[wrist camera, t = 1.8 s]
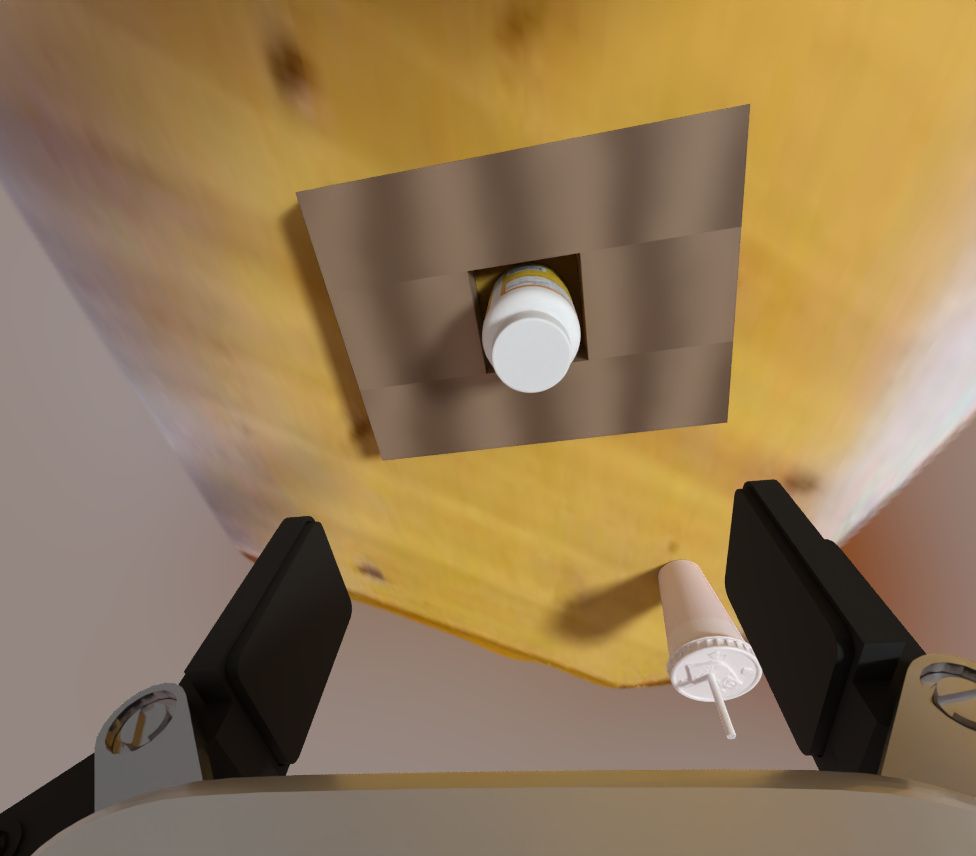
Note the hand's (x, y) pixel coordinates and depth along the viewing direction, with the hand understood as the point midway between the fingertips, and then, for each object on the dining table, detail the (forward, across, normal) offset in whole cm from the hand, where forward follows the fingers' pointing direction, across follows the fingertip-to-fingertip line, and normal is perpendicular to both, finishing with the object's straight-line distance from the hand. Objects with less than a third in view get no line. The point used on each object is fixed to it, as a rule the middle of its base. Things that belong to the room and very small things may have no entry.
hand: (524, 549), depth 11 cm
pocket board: (+24, 0, +1) cm, 24 cm away
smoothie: (+25, -11, +26) cm, 38 cm away
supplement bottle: (+24, 0, +1) cm, 25 cm away
